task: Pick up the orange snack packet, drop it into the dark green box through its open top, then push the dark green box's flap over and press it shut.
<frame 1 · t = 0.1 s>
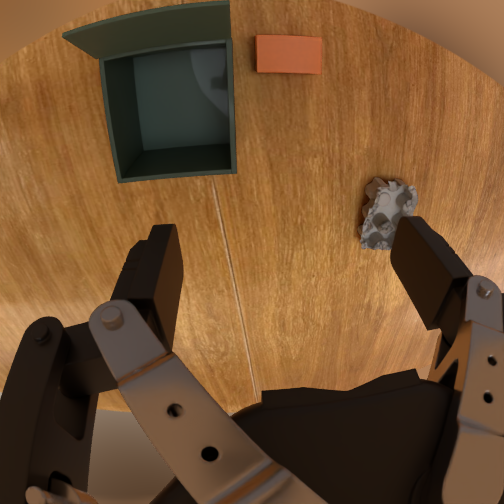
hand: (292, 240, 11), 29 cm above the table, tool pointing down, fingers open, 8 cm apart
egg carton: (381, 208, 43), on the table
dark green box: (183, 98, 33), on the table
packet: (285, 54, 30), on the table
flap: (150, 30, 18), point 13 cm above the table, hinge at 110.0°
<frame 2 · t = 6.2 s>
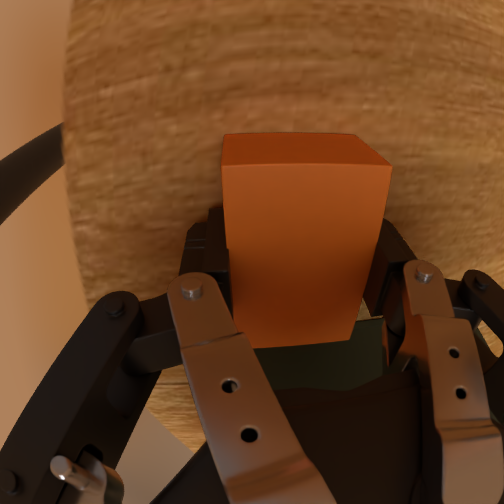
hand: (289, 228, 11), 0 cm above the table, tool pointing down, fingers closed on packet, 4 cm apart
dark green box: (350, 377, 19), on the table
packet: (288, 223, 12), on the table, touching gripper
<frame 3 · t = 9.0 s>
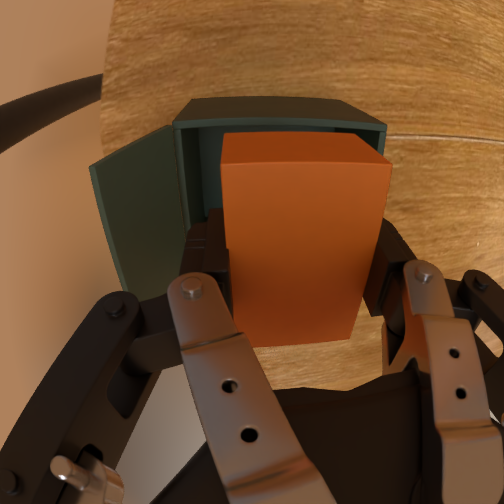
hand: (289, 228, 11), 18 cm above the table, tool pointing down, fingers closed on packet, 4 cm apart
dark green box: (266, 159, 28), on the table
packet: (288, 222, 12), point 17 cm above the table, touching gripper
flap: (153, 245, 17), point 13 cm above the table, hinge at 110.0°
when the fingers open (8 cm above the table, at t = 12.1 s): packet drops 7 cm, resting on dark green box.
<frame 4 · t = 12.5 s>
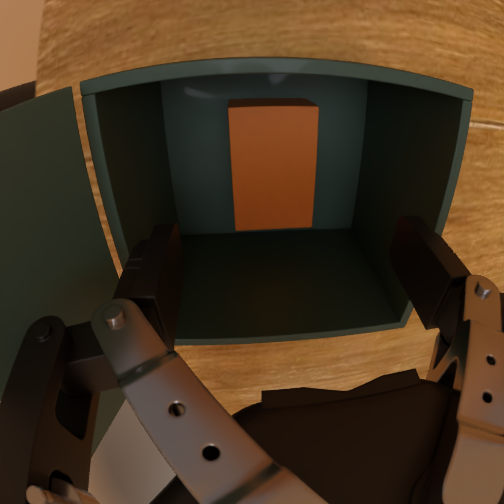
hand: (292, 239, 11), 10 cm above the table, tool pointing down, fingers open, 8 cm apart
dark green box: (267, 151, 19), on the table
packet: (268, 153, 18), resting on dark green box
flap: (51, 317, 8), point 13 cm above the table, hinge at 110.0°
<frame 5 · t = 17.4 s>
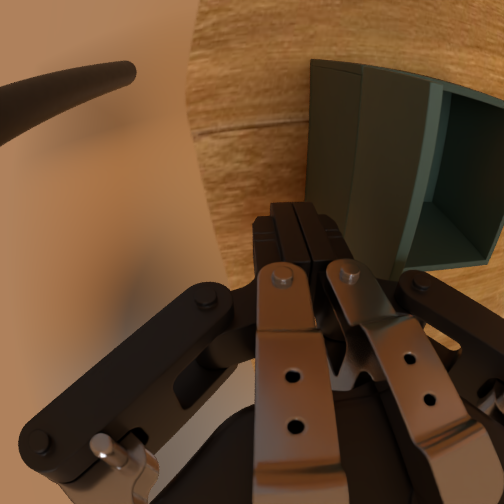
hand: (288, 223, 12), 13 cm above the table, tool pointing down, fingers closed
dark green box: (384, 139, 22), on the table
flap: (371, 227, 11), point 13 cm above the table, hinge at 97.9°, touching gripper
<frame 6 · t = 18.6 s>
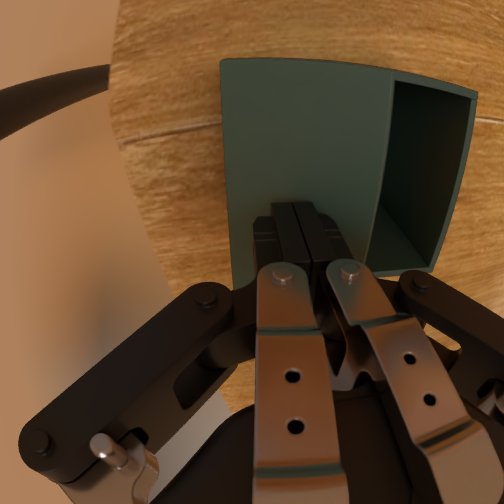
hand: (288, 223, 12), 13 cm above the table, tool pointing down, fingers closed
dark green box: (316, 135, 22), on the table
flap: (292, 216, 12), point 12 cm above the table, hinge at 38.0°
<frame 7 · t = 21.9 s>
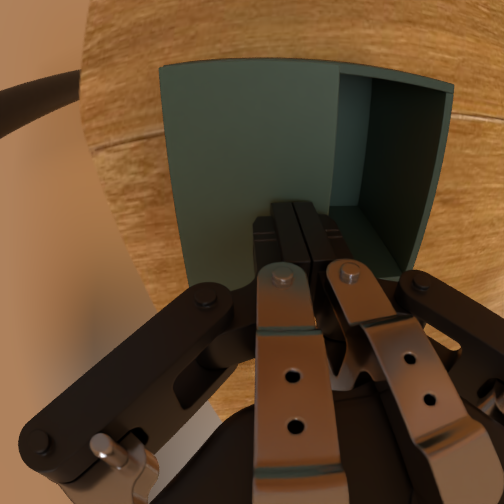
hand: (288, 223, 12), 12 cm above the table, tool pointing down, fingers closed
dark green box: (287, 137, 22), on the table
flap: (247, 213, 12), point 11 cm above the table, hinge at 19.0°, touching gripper
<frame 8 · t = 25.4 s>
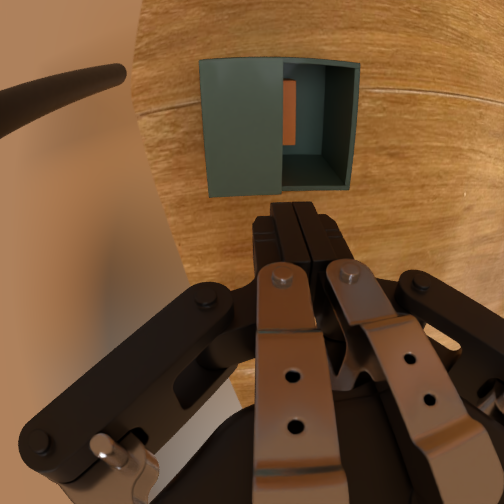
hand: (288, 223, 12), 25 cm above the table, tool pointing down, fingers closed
dark green box: (270, 107, 32), on the table
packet: (271, 108, 31), resting on dark green box
flap: (243, 129, 24), point 10 cm above the table, hinge at -0.3°
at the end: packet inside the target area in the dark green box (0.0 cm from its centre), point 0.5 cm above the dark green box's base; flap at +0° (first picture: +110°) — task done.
